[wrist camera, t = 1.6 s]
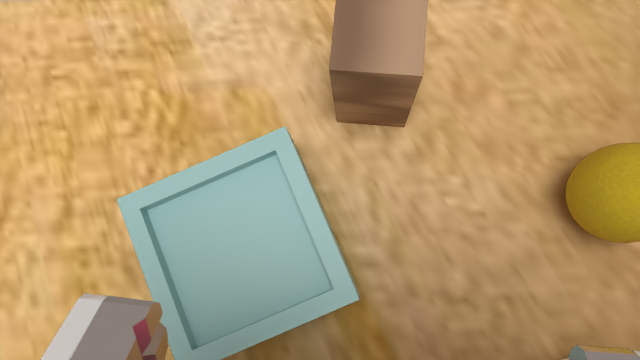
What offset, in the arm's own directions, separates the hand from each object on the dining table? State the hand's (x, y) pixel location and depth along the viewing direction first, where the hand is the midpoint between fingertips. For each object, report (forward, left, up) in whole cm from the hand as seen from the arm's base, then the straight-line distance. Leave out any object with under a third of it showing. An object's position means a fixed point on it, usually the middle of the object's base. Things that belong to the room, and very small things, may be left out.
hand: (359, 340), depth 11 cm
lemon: (-16, +1, -24) cm, 29 cm away
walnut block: (-6, -11, -24) cm, 27 cm away
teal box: (+5, -4, -24) cm, 25 cm away
